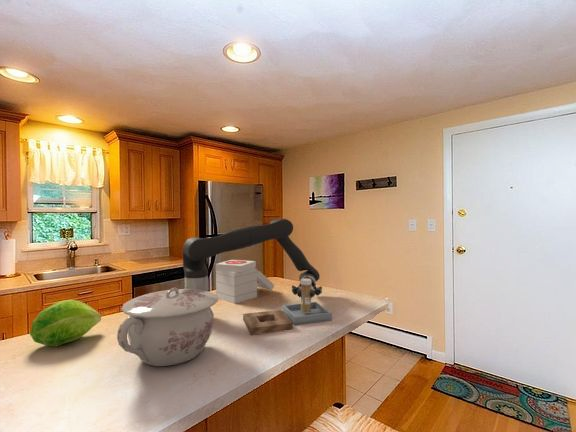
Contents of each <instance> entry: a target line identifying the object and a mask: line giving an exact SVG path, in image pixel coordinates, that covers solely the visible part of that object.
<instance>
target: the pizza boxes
mask: <svg viewBox="0 0 576 432" xmlns="http://www.w3.org/2000/svg"><path fill="white" fill-rule="evenodd" d="M256 266H257V262H256V261H255V260H245V259H242V260H241V259H230V260H226V261H221V262H219V263H218V262H217V263H215V272H216V273H215V295H216V296H217V297H218V300H222V301H225V302H228V303H231V304H234V305H235V304H238V303H242V302H245V301H249V300H251V299H255V298H258V288H262V289H265V290H270V291H273V290H274V287H275V284H274V283H273V282H272V281H271V280H270V279H268V277H266V276H265V274H263V273H262V272H261V271H260V270H258V268H257V267H256Z"/></svg>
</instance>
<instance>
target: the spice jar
mask: <svg viewBox="0 0 576 432" xmlns="http://www.w3.org/2000/svg"><path fill="white" fill-rule="evenodd" d="M311 302H312V298H311V279H301V297H300V303H301V311H302V312H305V313H307V312H311Z"/></svg>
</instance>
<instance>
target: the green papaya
mask: <svg viewBox="0 0 576 432" xmlns="http://www.w3.org/2000/svg"><path fill="white" fill-rule="evenodd" d="M101 321H102V315H101V314H100V312H98V311H97V310H95V308H94V307H92V306H90V305H89V304H87V303H85V302H82V301H80V300H76V299H75V300H74V299H68V300H67V299H65V300H61V301H57V302H54V303H53V304H51V305H50V306H48V307H46V308H45V309H43V310H41V311H40V312H39V313H38V314H37V316H36V317H35V318H34V319H33V321H32V323H31V327H30V333H29V335H30V337H31V338H32V340H33V342H34V343H37V344H40V345H42V346H43V345H44V346H49V347H58V346H61V345H65V344H68V343H70V342H74V341H77V340H79V339H80V338H82V337H84V336H85V335H86V334H87V333H88V332H89V331H90V330H91V329H92V328H94V327H95V326H96V325H98V324H99V323H100V322H101Z"/></svg>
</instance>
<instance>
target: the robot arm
mask: <svg viewBox="0 0 576 432" xmlns="http://www.w3.org/2000/svg"><path fill="white" fill-rule="evenodd" d="M293 231H294V224H293V223H292V221H291V220H290V219H286V218H275V219H273V220H271V221H270V222H269V223H268V224H262V225H261V224H260V225H258V224H257V225H249V226H248V225H247V226H243V227H238V228H235V229H232V230H229V231H227V232H225V233H223V234H220V235H216V236H211V237H204V238H203V237H202V238H201V237H197V236H196V237H195V236H194V237H193V236H192V237H189V238H187V240H185V242H184V243H183V246H182V261H183V262H182V268H183V271H184V272H183V273H184V289H195V290H203V291H207V292H209V278H208V277H209V275H208V274H209V272H208V271H209V270H208V267H207V265H206V259H209V258H211V257H214V256H217V255H220V254H222V253H227V252H231V251H233V252H234V251H236V250H241V249H244V248H245V249H246V248H248V247H251V246H252V247H253V246H255V245H259V244H262V243H264V242H267V241H271V240H276V241H277V243H278V244H279V245H280V246H281V247H282V249H283V250H284V252H285V253H286V254H287V256H288V257H289V259H290V261H291V262H292V264H293V265H294V267H295V269H296V270H297V271H299V272H301V273H300V274H299V276H298V278H299V285H297V286H296V285H294V284H293V285H292V286H291V292H292V293H293V295H295V296H296V295H297V297H299V298H301V279H311V299H312V298H314V297H315V296H319V295H321V294H322V293H323V286H321V285H320V286H317V282H318V281H319V280H320V277H321V276H320V272H319V271H318V270H317V269H316V268H315V267H314V266H313V265H312V264H311V262H309V261H308V259H307V258H306V255H305V253H304V252H303V251H302V250H301V249H300V247H298V246H297V244H295V243H294V241H293V240H292V239H291V238H290V237H289V236H291V235H292V233H293Z"/></svg>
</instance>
